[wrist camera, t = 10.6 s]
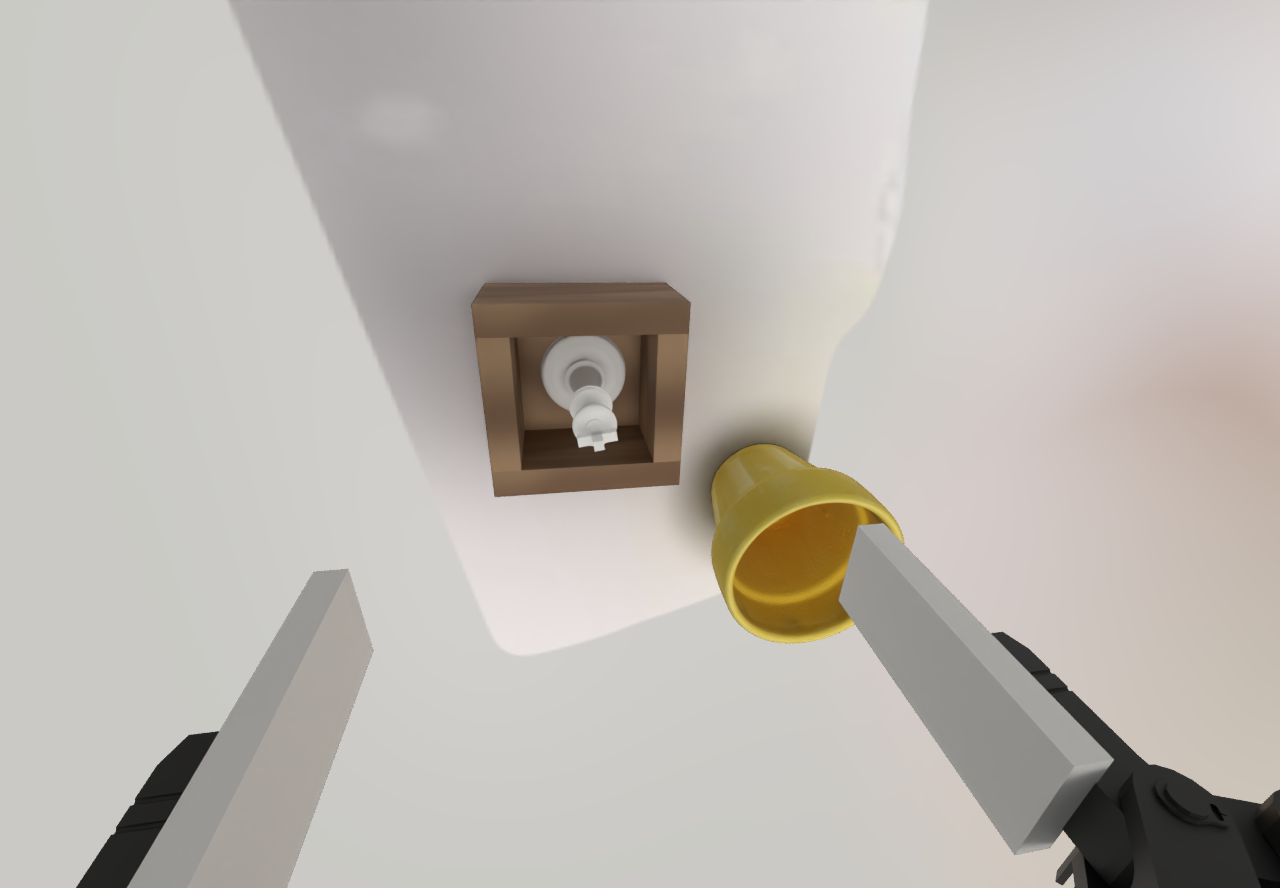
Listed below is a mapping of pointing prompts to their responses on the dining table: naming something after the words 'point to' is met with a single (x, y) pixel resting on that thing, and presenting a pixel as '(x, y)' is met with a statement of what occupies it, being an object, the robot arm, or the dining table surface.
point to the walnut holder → (542, 430)
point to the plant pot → (787, 542)
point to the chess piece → (585, 384)
